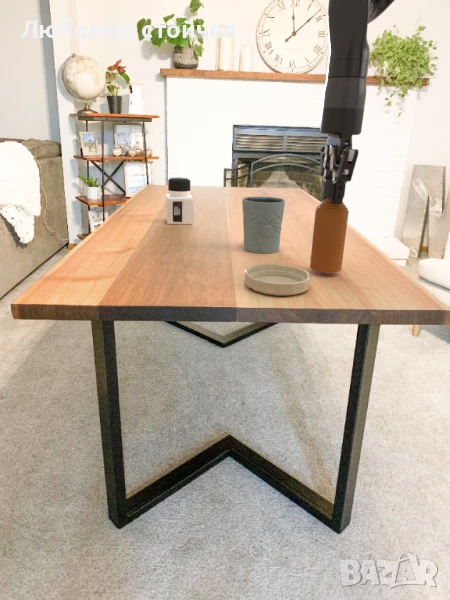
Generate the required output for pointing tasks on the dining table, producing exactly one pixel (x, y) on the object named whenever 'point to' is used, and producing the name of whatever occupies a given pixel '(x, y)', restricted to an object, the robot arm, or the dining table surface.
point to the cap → (329, 188)
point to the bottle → (329, 237)
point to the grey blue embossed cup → (262, 223)
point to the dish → (277, 279)
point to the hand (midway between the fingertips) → (332, 201)
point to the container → (179, 202)
